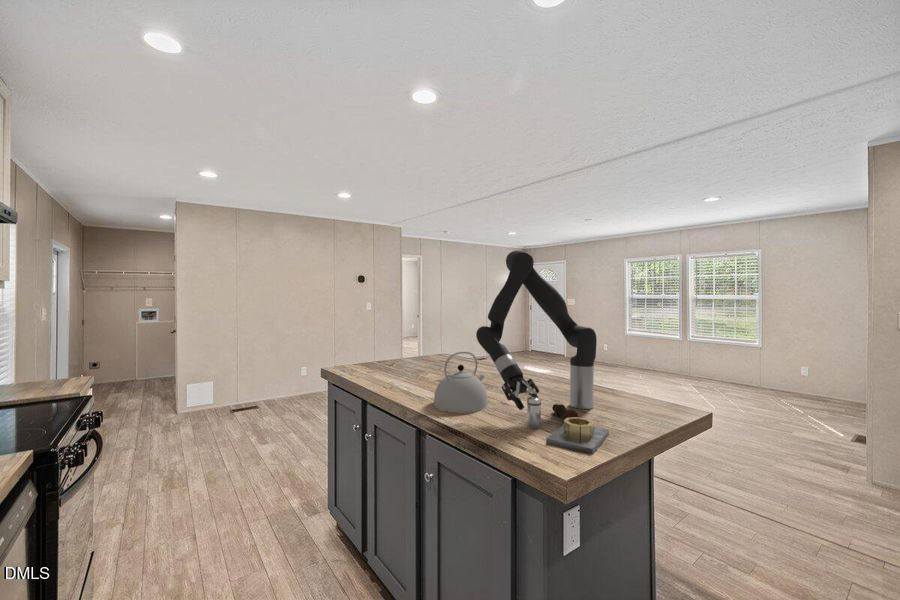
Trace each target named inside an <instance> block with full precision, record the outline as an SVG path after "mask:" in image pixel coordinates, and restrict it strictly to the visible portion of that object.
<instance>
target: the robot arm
mask: <svg viewBox="0 0 900 600" xmlns="http://www.w3.org/2000/svg"><path fill="white" fill-rule="evenodd" d="M505 266H506V268H507V270H508V271H509V273H508V276H507V279H506V281H505V283H504V284H503V287H501V289H500V291H499V292H498V293H497V295H496V297H495V298H494V301H493V302H492V304H491V307H490V309H489V311H488V315H487V319H488V321H490V325H489V326H485V325H483V326H480V327H479V328H477V331H476V333H475V335H476V340H477V342H478V343H479V345H480V346H481V347H482V348H483V350H484V351H485V353H487V354H488V355H489V356H490V358H491V360H492V362H493V364H494V366H495V368H496V370H497V372H498V374H499V375H500V377H501V378H502V380H503V382H504V383H503V384H502V386H501V389H502V391H503V394H504V395H505V397H506V399H507V401H512V402H514V404H515V406H516V407H517V409H518V410H519V411H522V410H524V408H525V405H524V403H523V402H522V400H521V398H520V397H519V395H520V394H525V395H528V396H529V397H538V398H540V397H539V396H538V393H540V390H539V388H538V386H537V385H536V384H535V382H534V381H533V379H532V378H528V379H527V380H526V379H525V377H524V373H523V371H522V369H521V368H520V366H519V364H517V361H516V360H515V359H514V358H513V356H512V354H511V353H510V352H509V349H508V348H507V347H506V345H505V344H503V343H501V342H500V341H501V339H502V337H503V332H504V326H505V321H506V318H507V316H508V314H509V312H510V310H511V307H512V305H513V303H514V301H515V299H516V296H517V294H518V293H519V291H520V289H521V287H522V286H523V285H524V287H525V288H526V290H527V291H528V292H529V294H530V295H531V297H532V298H533V300H534V301H535V302H536V304H538V306H539V308H541V309H542V311H543V312H544V313H545V314H546V315H547V316H548V318H549V319H550V320H551V321H552V322H553V324H554V325H555V326H556V327H557V328H558V330H559V332H560V333H561V335H562V336H563V338H564V339H565V341H566V342H567V343H568V345H570V346H571V347H573V348H576V353H575V355H574V356H571V357H570V360H569V363H570V364H569V366H570V367H569V373H570V374H569V375H570V377H569V381H570V382H569V406H570V407H572V408H573V409H574V408H575V409H581V410H589V409H593V408H594V386H595V385H594V382H595V381H594V379H595V378H594V377H595V376H594V364H595V363H594V362H595V360H596V356H597V343H598V342H597V334H596V331H595V330H594V329H593V328H592V327H589V326H581V325H578V324H577V323H576V322H575V320H574V319H573V318H572V317H571V316H570V314H569V311H568V306H567V303H566V301H565V299H564V297H562V295H561V294H560V293H559V291H558V290H557V289H556V288H555V287H554V286H553V285H552V284H551V283H550V282H549V281H547V280H546V279H545V278H544V277H543V276H541V275H540V274H539V273H538V272H537V270H536V269H535V268H534V258H533V256H532V255H531V254H530V253H529V252H527V251H525V250H524V251H523V250H513V251H511V252H509V253H508V254H507V255H506V257H505Z"/></svg>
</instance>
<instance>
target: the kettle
mask: <svg viewBox="0 0 900 600" xmlns="http://www.w3.org/2000/svg"><path fill="white" fill-rule="evenodd" d="M460 354H462V355H463V354H464V355H465V354H466V355H470V356H472V357H473V358H474V359H473V360H474V362H475V367H474V370H473V373H470V372H466V371H464V369H465V366H464V365H463V364H458V366H457V370H458V371H455V372H454V371H453V372H452V373H448V374H447V367H448V364H449V361H450V360H451V359H452V358H453V357H454V356H456V355H457V356H458V355H460ZM477 369H478V359H477V357H476V356H475V354H474V353H472V352H470V351H458V352H454V353H452V354H451V355H449V357H448V358H447V359H446V361H445V364H444V368H443V371H444V376H445V377H444V378H442V379H441V380H440V381H439V383H438V385H437V386H436V389H435V391H434V397H433V407H434V406H435V407H436V408H438V409H440V410H439V411H441V410H443V411H442V412H445V411H448V412H447V413H450V412H458V413H457V414H471V412H473V413H478V412H477V411H479V412H482V411H484V409H485V410H486V409H487V408H488V406H489V402H488V394H487V389H486V386H485V385H484V384H483V383H482V381H483V379H484V378H485V375H484V374H481V373H480V374H479V375H478V376H476V373H477V372H478V371H477ZM435 407H434V408H435ZM436 408H435V409H436ZM438 409H437V410H438ZM481 410H482V411H481Z"/></svg>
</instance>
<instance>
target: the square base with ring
mask: <svg viewBox="0 0 900 600" xmlns="http://www.w3.org/2000/svg"><path fill="white" fill-rule="evenodd" d="M609 434H610V429H608V428H603V427H597V426H595V423H594V422H593V420H590V419H588V418H584V417H580V416H579V417H571V418H566V419H565V420H563V424H562V425H561V426H560V427H558V428H557V429H556V430H555V431H554V432H552V433H551V434H550V435H549V436H548V437H546V438H545V444H547V445H551V446H555V447H560V448H565V449H569V450H573V451H577V452H581V453H585V452H586V453H587V454H590V453H591V454H590V455H593V454H594V453H595V452H596V451H597V450H598V448H599V447H600V446H601V444H602V443H603V442H604V441H605V440H606V439H607V437H608V436H609Z"/></svg>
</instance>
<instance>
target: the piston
mask: <svg viewBox="0 0 900 600" xmlns="http://www.w3.org/2000/svg"><path fill="white" fill-rule="evenodd" d="M538 397H539V396H538ZM538 397H531V396H529V397H526V399H527V400H526V401H527V402H526V403H527V405H526V406H527V407H526V413H527V415H526V422H527V423H526V424H527V425H526V427H527V428H528V429H530V430H540V429H542V427H541V426H542V419H541V418H542V417H541V416H542V408H541V407H542V401H541V400H542V398H540V397H539V398H538Z"/></svg>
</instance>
